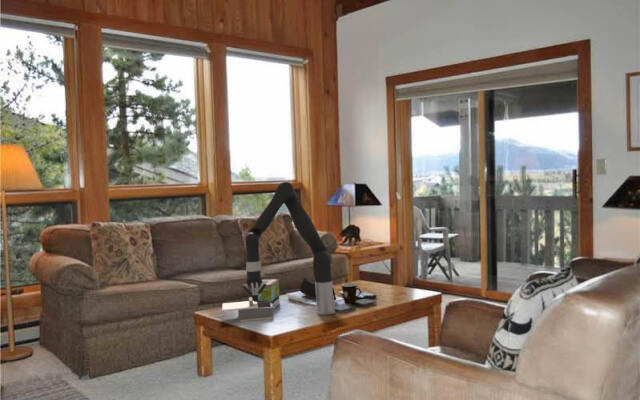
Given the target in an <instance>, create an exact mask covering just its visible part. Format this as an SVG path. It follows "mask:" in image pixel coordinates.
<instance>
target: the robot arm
mask: <svg viewBox="0 0 640 400" xmlns="http://www.w3.org/2000/svg"><path fill="white" fill-rule="evenodd" d="M295 191H296V190H295V188H294V186H293V184H292V183H291V182H289V181H282V182H280V183H279V184H278V185H277V188H276V190H275V192H274V194H273V196H272V197H271V200H270V202H269V203H268V204H267V206H266V207H265V208H264V210H263V211H262V213H261V214H260V215H259V217H258V218H257V219H256V221H255V223H254V224H253V226H252V227H251V228H250V229H249V231H248V232H247V233H246V234H245V237H244V240H245V241H244V242H245V248H246V249H245V250H246V253H245V256H246V257H245V258H246V259H245V260H246V261H245V262H246V263H245V264H246V265H245V266H246V267H245V268H246V280H245V281H246V283H245V284H243V285H242V288H243V290H245V291H246V292H247V293H248V294H249V295H252V296H251V297H252V300H253V301H254V302H257V301H258V294H260V293H261V292H262V291H263V289H264V288H265V286H266V283H264V282H262V280H263V279H262V270H261V267H262V266H261V262H260V261H261V260H260V251H259V250H260V247H259V246H260V242H259V241H260V240H259V239H260V238H261V236H262V235H263V233H265V232H266V231H267V230H268V228H269V227H270V225H271V224H272V222H273V220H274V218H275V217H276V215H277V213H278V212H279V210H280V209H281V207H282V206H283V205H284V206H285V207H286V209H287V210H288V212H289V215H290V218H291V220H292V222H293V225H294V227H295V229H296V230H297V232H298V234H299V236H300V237H301V238H302V239H303V241H304V242H305V243H306V244H307V245H308V246H309V248H310V249H311V252H312V254H313V260H312V265H313V266H312V267H313V277H314V283H315V288H316V299H315V303H316V304H315V305H316V306H315V307H316V314H317V315H320V316H321V315H322V316H325V315H326V316H327V315H332V314H335V313H336V311H335V310H336V308H335V301H334V295H333V288H334V287H333V286H334V285H333V275H332V269H331V268H332V267H331V264H332V261H333V258H332V255H331V252H329V250H328V249H327V247H326V246H325V243H323V241H322V239H321V237H320V235H319V233H318V230H317V229H316V227H315V224H314V223H313V221H312V219H311V217H310V215H309V214H308V213H307V211H306V209H305V208H304V207H303V206H302V204H301V203H300V200H299V199H298V197H297V194H296V192H295ZM261 283H262V287H261V288H260V290H259V291H258V288H259V287H260V285H261ZM248 287H249V288H250V289H251V290H250V289H249V288H248Z"/></svg>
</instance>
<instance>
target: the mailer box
mask: <svg viewBox="0 0 640 400" xmlns="http://www.w3.org/2000/svg"><path fill="white" fill-rule="evenodd" d="M257 305H258V308H254V309H243V310H237V311H238V312H237V313H238V322H239V321H241V322H249V321H248V320H252V321H260V320H269V319H271V320H273V319H274V308H273V306H272V303H271V301H267V302H257Z"/></svg>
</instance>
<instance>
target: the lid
mask: <svg viewBox="0 0 640 400" xmlns="http://www.w3.org/2000/svg"><path fill="white" fill-rule="evenodd" d="M221 308H222V310H221V311H222V312H230V311H238V310H243V309H254V308H258V305H257V302H254V301H253V297H252V296H251V297H250V296H249V297H248V300H246V301H237V302H235V301H234V302H223V303H222V307H221Z"/></svg>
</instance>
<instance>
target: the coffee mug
mask: <svg viewBox="0 0 640 400" xmlns="http://www.w3.org/2000/svg"><path fill="white" fill-rule="evenodd" d="M357 285H358V284H357V283H354V282H349V283H348V282H347V283H342V284H341V288H342V289H341V290H342V294H343V295H342V296H343V302H344V303H345V304H355V303H356V302H357V298H358V297H359V296H360V295H361V293H362V290H361V288H359V287H358V286H357ZM357 290H359V293H358V294H357Z"/></svg>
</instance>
